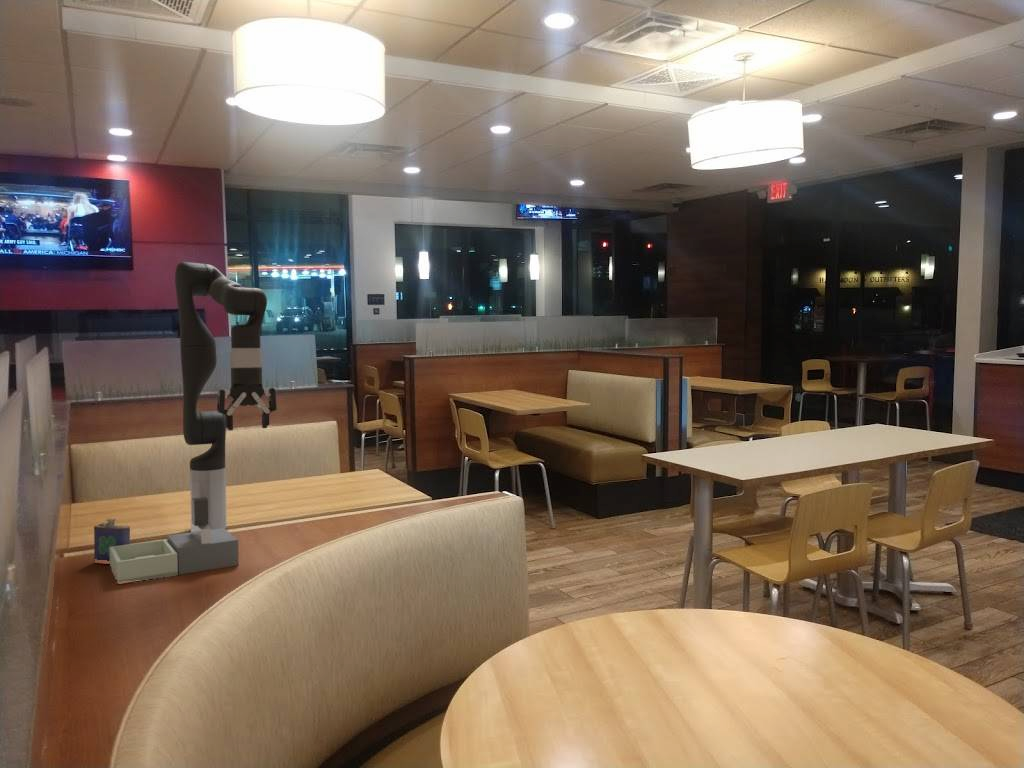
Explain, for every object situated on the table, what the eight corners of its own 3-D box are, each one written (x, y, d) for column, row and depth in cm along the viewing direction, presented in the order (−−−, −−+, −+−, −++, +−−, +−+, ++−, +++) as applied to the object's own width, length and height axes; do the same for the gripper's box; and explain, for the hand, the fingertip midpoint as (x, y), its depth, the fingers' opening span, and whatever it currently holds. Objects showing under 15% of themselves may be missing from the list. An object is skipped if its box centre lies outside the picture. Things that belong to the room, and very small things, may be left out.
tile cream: (153, 554, 176) (153, 559, 176) (134, 557, 174) (135, 562, 174) (156, 558, 173) (156, 563, 173) (137, 561, 171) (137, 566, 171)
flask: (133, 562, 177) (131, 518, 177) (124, 566, 175) (122, 521, 174) (99, 560, 179) (98, 516, 179) (90, 564, 176) (88, 519, 176)
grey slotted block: (168, 560, 180) (167, 535, 179) (224, 551, 187) (224, 528, 186) (178, 574, 168) (178, 548, 168) (238, 565, 175) (238, 539, 175)
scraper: (188, 534, 180) (187, 495, 180) (201, 532, 182) (200, 493, 182) (199, 544, 170) (198, 503, 170) (213, 543, 172) (212, 502, 172)
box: (110, 568, 173) (109, 546, 173) (166, 559, 180) (165, 539, 180) (117, 585, 161) (117, 562, 160) (177, 575, 167) (177, 553, 167)
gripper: (270, 365, 198) (271, 426, 199) (213, 366, 190) (215, 429, 191) (278, 365, 192) (279, 428, 193) (220, 366, 184) (222, 432, 185)
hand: (247, 429), depth 192 cm, fingers open, 8 cm apart
